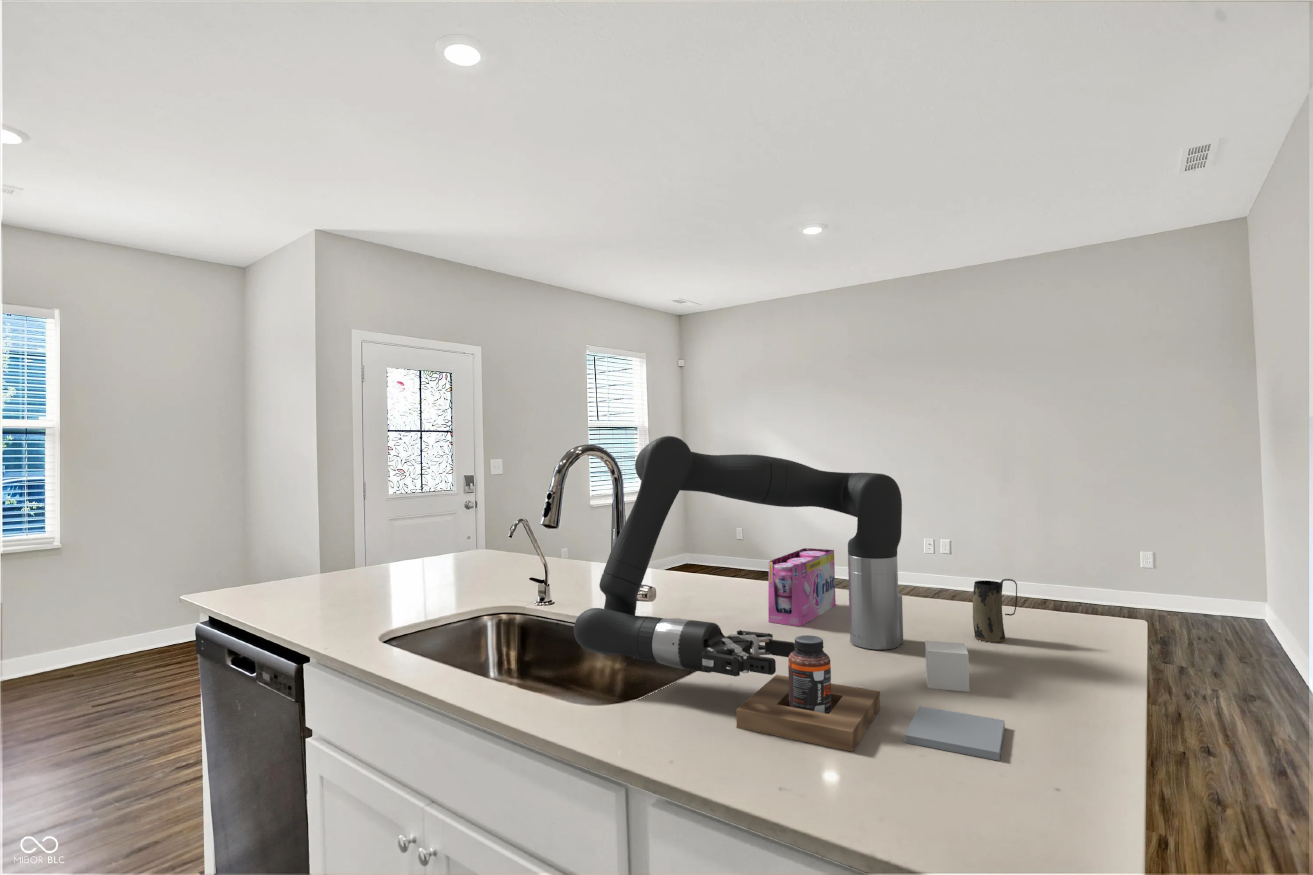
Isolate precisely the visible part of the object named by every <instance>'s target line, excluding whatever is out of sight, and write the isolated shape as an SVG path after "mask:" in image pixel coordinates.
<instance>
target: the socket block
mask: <svg viewBox="0 0 1313 875" xmlns="http://www.w3.org/2000/svg"><path fill="white" fill-rule="evenodd" d="M831 705H832V707H831V709H832V710H831V712H830V713H829V714H826V713H820V712H815V711H810V710H804V709H799V708H793V707H789V675H788V676H787V675H782V674H776V675H775V676H773V677H771V679H770V680H769V681H767V682H766V683H765V684H764V685H763V686H761V687H760V688H759V689H758V690H757V691H755V692H754V694H752V695H751V696H750V697H749V698H748V699H746V700H745V701H744V702H743V703H742V704H740V705H739V706H738V707H737V708H736V710H735V711H736V712H735V713H736V714H735V716H736V729H737V728H738V729H743V730H746V731H752V732H756V733H760V734H766V735H770V736H771V735H772V736H774V737H775V736H776V737H780V738H786V739H791V740H796V741H800V742H804V743H810V744H814V745H818V746H823V747H828V748H834V749H838V750H844V751H848V752H854V750H855V749H856V747H857V746H858V744H859V742H860V741H861V739H862V737H864V735H865V733H866V731H867V730H868V728H869V726H870V725H871V723H872V722H873V720H874V718H875V717H876V715H877V714H878V713H879V711H880V709H881V692H880V690H876V689H868V688H863V687H855V686H850V685H843V684H837V683H832V682H831Z"/></svg>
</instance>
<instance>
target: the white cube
mask: <svg viewBox="0 0 1313 875" xmlns="http://www.w3.org/2000/svg"><path fill="white" fill-rule="evenodd" d="M924 644H925V646H924V647H925V676H926V677H925V678H926V682H927V688H928V689H935V690H948V691H956V692H957V691H958V692H959V691H960V692H969V693H970V670H969V667H970V666H969V662H970V661H969V652H968V650H967V647H966V644H965V643H964V642H953V641H938V640H925V642H924Z"/></svg>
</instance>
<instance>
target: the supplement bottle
mask: <svg viewBox="0 0 1313 875" xmlns="http://www.w3.org/2000/svg"><path fill="white" fill-rule="evenodd" d="M794 643H795V645H794V646H795V648H796V650H795V651H793V652H791V653H790V655H789V657H788V659H787V660H788V663H787V664H788V665H787V666H788V667H787V668H788V677H789V707H793V708H799V709H804V710H810V711H815V712H820V713H826V714H829V713H830V712H831V710H832V709H831V707H832V705H831V683H832V670H831V668H832V667H831V658H830V656H829V655H828V653H826V652H825V651H824V647H825V646H824V639H823V637H821V636H817V635H810V634H809V635H807V634H806V635H804V634H803V635H798V636H796V637H795V638H794Z"/></svg>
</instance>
